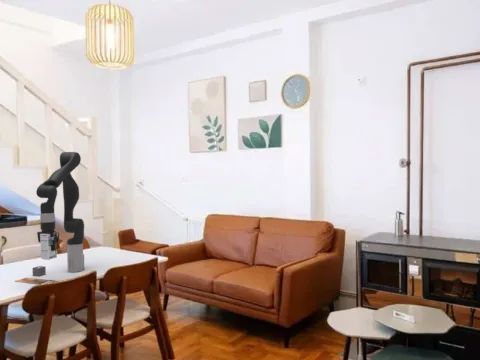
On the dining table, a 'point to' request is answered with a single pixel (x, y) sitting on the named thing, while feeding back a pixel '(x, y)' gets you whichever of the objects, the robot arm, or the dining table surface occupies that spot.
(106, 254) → the dining table surface
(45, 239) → the syrup box
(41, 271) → the die
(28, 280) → the flat rectangular plate
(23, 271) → the dining table surface
